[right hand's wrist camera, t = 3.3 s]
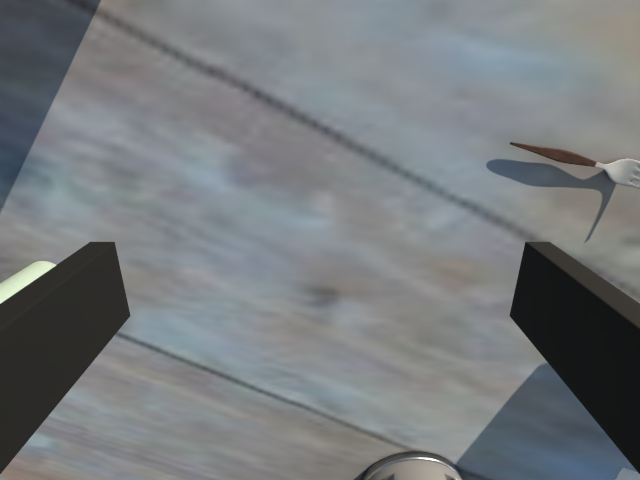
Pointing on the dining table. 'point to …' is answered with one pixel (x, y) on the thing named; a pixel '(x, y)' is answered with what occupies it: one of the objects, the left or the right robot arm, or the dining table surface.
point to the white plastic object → (628, 475)
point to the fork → (592, 164)
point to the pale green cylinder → (23, 278)
